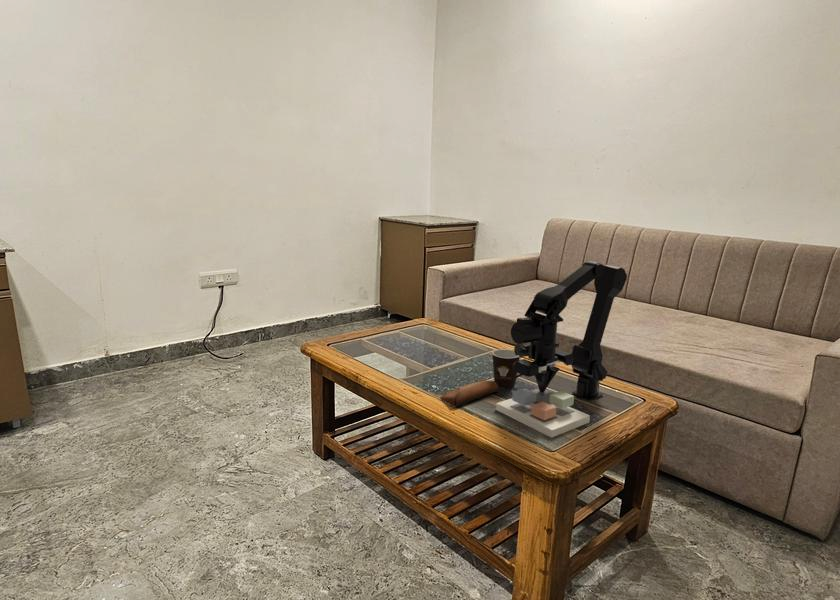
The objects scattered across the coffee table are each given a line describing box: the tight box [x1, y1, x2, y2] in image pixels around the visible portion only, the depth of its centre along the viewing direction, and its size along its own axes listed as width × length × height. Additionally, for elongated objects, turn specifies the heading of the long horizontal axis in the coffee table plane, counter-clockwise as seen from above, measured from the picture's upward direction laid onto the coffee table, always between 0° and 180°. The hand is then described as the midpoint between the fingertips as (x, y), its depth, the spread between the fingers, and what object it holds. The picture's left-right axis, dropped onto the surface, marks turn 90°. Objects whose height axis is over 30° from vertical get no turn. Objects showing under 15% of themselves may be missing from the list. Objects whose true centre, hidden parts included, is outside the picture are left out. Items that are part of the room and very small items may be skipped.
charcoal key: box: [530, 387, 554, 403], centre depth 155 cm, size 4×4×2 cm
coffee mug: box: [491, 348, 523, 389], centre depth 171 cm, size 12×9×10 cm
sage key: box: [549, 390, 575, 409], centre depth 149 cm, size 4×4×2 cm
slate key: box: [511, 387, 536, 406], centre depth 150 cm, size 4×4×2 cm
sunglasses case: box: [440, 380, 499, 408], centre depth 163 cm, size 18×7×7 cm, turn 131°
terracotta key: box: [531, 402, 556, 420], centre depth 145 cm, size 4×4×2 cm
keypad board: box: [495, 398, 591, 439], centre depth 151 cm, size 15×20×2 cm
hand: (541, 391), depth 154 cm, fingers closed, pressing on charcoal key
